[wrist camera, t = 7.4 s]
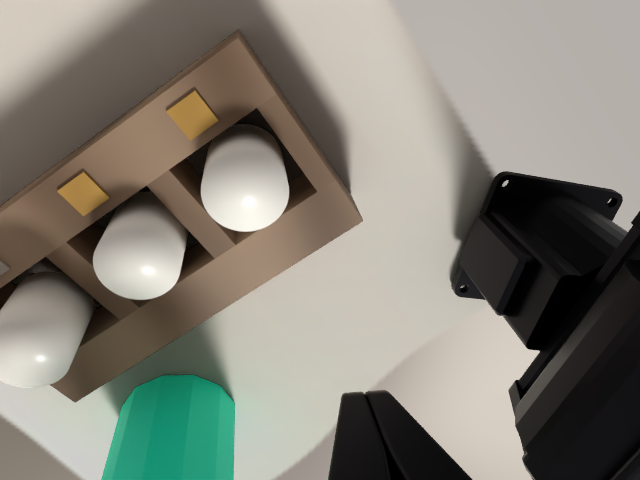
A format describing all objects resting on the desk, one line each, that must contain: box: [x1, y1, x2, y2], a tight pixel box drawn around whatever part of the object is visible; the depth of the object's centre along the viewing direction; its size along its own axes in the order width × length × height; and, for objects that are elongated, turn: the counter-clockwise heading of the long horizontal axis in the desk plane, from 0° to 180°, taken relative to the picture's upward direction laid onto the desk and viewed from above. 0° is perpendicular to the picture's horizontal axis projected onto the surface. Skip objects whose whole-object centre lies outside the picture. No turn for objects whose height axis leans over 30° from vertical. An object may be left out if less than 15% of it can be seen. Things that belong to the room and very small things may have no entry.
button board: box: [0, 29, 363, 402], centre depth 20 cm, size 15×8×3 cm, turn 122°
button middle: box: [93, 192, 189, 300], centre depth 19 cm, size 3×3×3 cm
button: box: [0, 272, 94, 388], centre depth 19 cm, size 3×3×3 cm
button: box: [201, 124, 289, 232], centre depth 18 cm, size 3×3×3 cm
